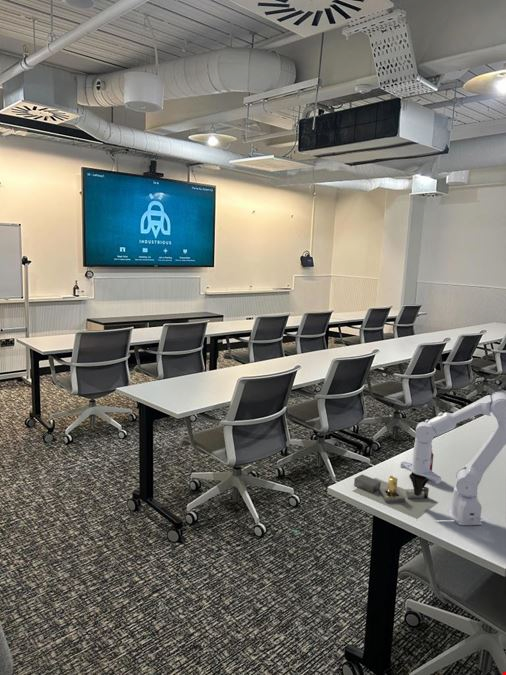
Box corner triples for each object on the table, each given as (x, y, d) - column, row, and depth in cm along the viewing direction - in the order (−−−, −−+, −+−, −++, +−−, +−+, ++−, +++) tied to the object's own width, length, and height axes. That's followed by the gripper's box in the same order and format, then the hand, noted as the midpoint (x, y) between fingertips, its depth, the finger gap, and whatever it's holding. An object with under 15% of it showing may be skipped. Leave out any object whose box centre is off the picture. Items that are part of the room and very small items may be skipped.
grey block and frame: (404, 502, 170) (405, 494, 170) (364, 502, 169) (364, 494, 169) (389, 481, 186) (389, 474, 185) (351, 481, 184) (352, 474, 184)
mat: (438, 503, 171) (438, 502, 171) (416, 520, 160) (417, 518, 160) (375, 478, 188) (375, 477, 188) (352, 492, 177) (352, 491, 177)
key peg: (397, 500, 171) (399, 482, 170) (389, 500, 171) (390, 481, 170) (393, 494, 176) (395, 475, 175) (385, 493, 176) (387, 475, 175)
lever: (429, 498, 173) (429, 489, 173) (408, 498, 173) (408, 490, 172) (426, 494, 176) (427, 486, 175) (405, 495, 175) (406, 486, 174)
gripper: (448, 462, 162) (443, 500, 165) (410, 447, 174) (406, 483, 176) (436, 467, 158) (431, 506, 160) (398, 451, 169) (394, 488, 172)
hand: (417, 494), depth 168 cm, fingers closed
